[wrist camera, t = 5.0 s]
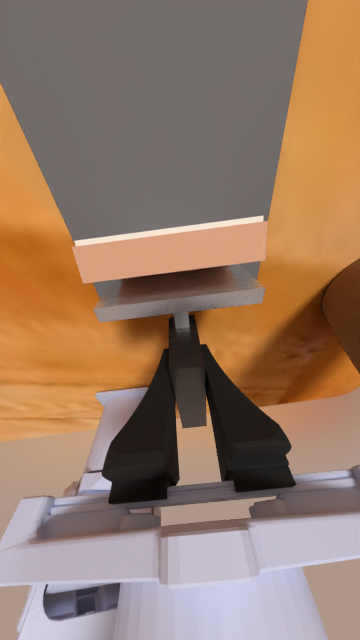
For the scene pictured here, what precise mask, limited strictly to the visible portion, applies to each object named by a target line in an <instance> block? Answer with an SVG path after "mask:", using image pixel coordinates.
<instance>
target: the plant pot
mask: <svg viewBox="0 0 360 640" xmlns="http://www.w3.org/2000/svg"><path fill="white" fill-rule="evenodd" d="M322 309H323V312H324V314H325V316H326V318H327V320H328V322H329V324H330V326H331V328H332V330H333V331H334V333H335V335H336V337H337V338H338V340H339V342H340V344H341V345H342V347H343V349H344V350H345V352H346V353H347V355H348V357H349V358H350V360H351V361H352V363H353V365H354V366H355V368H356V369H357V370H358V372H359V373H360V259H359V260H357V261H355V262H354V263H352V264H351V265H350V266H348V267H347V268H346V269H344V270H343V271H342V272H341V273H340V274H339V275H338V276H337V277H336V278H335V279H334V280H333V281H332V283H331V284H330V285H329V287H328V289H327V290H326V292H325V294H324V297H323V300H322Z"/></svg>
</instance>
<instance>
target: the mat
mask: <svg viewBox="0 0 360 640" xmlns="http://www.w3.org/2000/svg"><path fill="white" fill-rule="evenodd" d="M307 2H308V0H0V82H1V85H2V87H3V89H4V91H5V93H6V95H7V98H8V100H9V102H10V104H11V106H12V108H13V111H14V113H15V115H16V117H17V119H18V121H19V124H20V126H21V128H22V130H23V132H24V134H25V137H26V139H27V141H28V143H29V145H30V147H31V150H32V152H33V154H34V156H35V158H36V161H37V163H38V165H39V167H40V169H41V171H42V174H43V176H44V178H45V180H46V182H47V184H48V187H49V189H50V191H51V193H52V195H53V197H54V200H55V202H56V204H57V206H58V208H59V210H60V213H61V215H62V217H63V219H64V221H65V223H66V226H67V228H68V230H69V232H70V234H71V236H72V239H73V241H77V240H84V239H92V238H99V237H107V236H114V235H122V234H129V233H137V232H144V231H152V230H159V229H167V228H174V227H182V226H189V225H197V224H204V223H212V222H219V221H227V220H234V219H242V218H249V217H257V216H263V221H268V216H269V211H270V205H271V200H272V194H273V189H274V183H275V178H276V172H277V167H278V161H279V156H280V150H281V145H282V139H283V134H284V128H285V123H286V117H287V112H288V106H289V101H290V96H291V90H292V85H293V79H294V74H295V68H296V63H297V57H298V52H299V46H300V41H301V35H302V30H303V24H304V19H305V13H306V8H307ZM74 243H75V242H74ZM239 265H240V266H241V267H242V268H244V269H245V270H246V271H247V272H248V273H249V274H250V275H252V276H253V277H254V278H255V279H256V280H257V276H258V271H259V265H260V261H256V262H248V263H240V264H239ZM112 282H113V280H107V281H100V282H93V284H94V286H95V289H96V291H97V293H98V295H99V297H100V298H101V297H102V296H103V294H104V293H105V291H106V290H107V289H108V287H109V286H110V285H111V283H112Z"/></svg>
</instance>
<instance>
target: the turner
mask: <svg viewBox="0 0 360 640" xmlns="http://www.w3.org/2000/svg"><path fill="white" fill-rule="evenodd" d="M264 292H265V287H264V286H263V285H262V284H261V283H259V282H258V281H257V280H256V279H255V278H254V277H253V276H252V275H250V274H249V273H248V272H247V271H246V270H245V269H244V268H242V267H241V266H240V265H239V264H233V265H225V266H217V267H209V268H201V269H193V270H186V271H178V272H170V273H162V274H154V275H147V276H139V277H131V278H123V279H115V280H113V282H112V283H111V285H110V286H109V287H108V289H107V290H106V291H105V293H104V294H103V296H102V297H101V298H100V300H99V301H98V303H97V304H96V305H95V307H94V308H93V310H94V312H95V314H96V316H97V318H98V320H99V322H107V321H116V320H124V319H132V318H141V317H149V316H157V315H166V314H174V317H171V318H169V372H170V376H171V381H172V385H173V389H174V393H175V397H176V402H177V406H178V410H179V414H180V418H181V422H182V426H183V428H191V427H200V426H206V384H205V363H204V359H203V354H202V350H201V345H200V341H199V336H198V331H197V327H196V322H195V318H194V315H188V312H191V311H199V310H207V309H216V308H224V307H232V306H241V305H249V304H257V303H262V301H263V296H264Z"/></svg>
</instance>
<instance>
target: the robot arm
mask: <svg viewBox="0 0 360 640" xmlns="http://www.w3.org/2000/svg"><path fill="white" fill-rule="evenodd" d="M201 350H202V354H203V359H204V363H205V384H206V396H207V400H208V404H209V409H210V414H211V420H212V425H213V431H214V437H215V443H216V449H217V456H218V461H219V468H220V474H221V479H222V482H213V483H204V484H193V485H184V486H176V484H177V483H178V481H179V479H180V478H179V464H178V451H177V450H178V449H177V433H176V413H175V402H176V397H175V393H174V389H173V385H172V381H171V376H170V372H169V348H168V349H164V350H163V354H162V357H161V360H160V363H159V366H158V368H157V371H156V373H155V376H154V378H153V380H152V382H151V384H150V386H149V388H148V387H141V388H133V389H124V390H115V391H106V392H98V393H96V395H95V397H96V398H97V399H98V400H99V402H100V403H101V404H102V405H103V407H104V410H103V413H102V416H101V419H100V422H99V425H98V428H97V432H96V435H95V438H94V441H93V444H92V447H91V450H90V454H89V457H88V460H87V463H86V467H85V469H84V472H83V475H82V477H81V479H80V480H79V482H72V484H71V485H70V486H69V487H68V488H66V489H65V491H64V493H63V495H62V497H61V498H54V497H52V496H34V497H24V498H23V499H21V501H20V503H19V505H18V507H17V509H16V511H15V513H14V515H13V517H12V519H11V521H10V523H9V525H8V527H7V529H6V531H5V533H4V535H3V537H2V539H1V541H0V586H15V585H30V590H29V592H28V595H27V598H26V601H25V604H24V607H23V610H22V612H21V616H20V618H19V621H18V625H17V632H18V636H17V640H328V638H327V635H326V632H325V630H324V627H323V624H322V621H321V619H320V616H319V613H318V610H317V608H316V605H315V602H314V599H313V597H312V594H311V591H310V588H309V586H308V583H307V580H306V578H305V575H304V572H303V569H302V566H309V565H316V564H322V563H329V562H336V561H343V560H350V559H357V558H360V465H356V466H354V467H352V468H351V469H345V470H335V471H325V472H315V473H305V474H295V475H292V474H291V471H290V469H289V467H288V465H289V462H288V460H287V458H286V454H287V453H288V452H289V451H290V449H291V444H290V442H289V440H288V438H287V436H286V435H285V433H284V432H283V430H282V429H281V427H280V426H279V424H277V423H276V422H275V421H274V420H272V419H271V418H270V417H269V416H267V415H266V414H265V413H264V412H262V411H261V410H260V409H259V408H258V407H257V406H256V405H255V404H254V403H252V402H251V401H250V400H249V399H248V398H247V397H246V396H245V395H244V394H243V393H242V392H241V391H240V390H239V389H238V388H237V387H236V386H235V385H234V383H233V382H232V381H231V380H230V379H229V378H228V376H227V375H226V374H225V373H224V371H223V370H222V369H221V367H220V366H219V365H218V363H217V362H216V360H215V359H214V357H213V356H212V354H211V352H210V351H209V349H208V347H207V345H206V344H202V345H201ZM172 486H173V487H172ZM271 496H277V497H276V499H272V500H266V501H260V502H255V503H254V505H253V506H251V507H249V511H250V514H251V518H244V519H231V520H220V521H208V522H197V523H188V524H178V525H168V526H161V509H160V507H166V506H176V505H187V504H197V503H208V502H219V501H229V500H238V499H250V498H260V497H271Z"/></svg>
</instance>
